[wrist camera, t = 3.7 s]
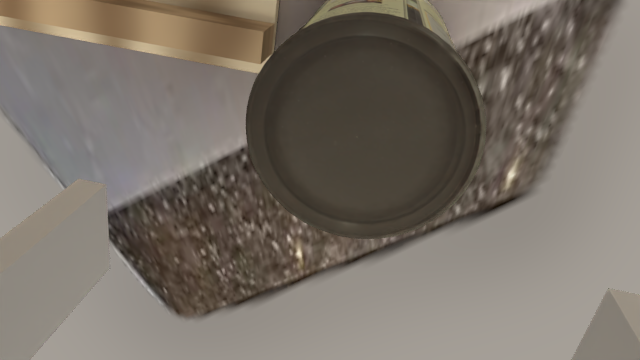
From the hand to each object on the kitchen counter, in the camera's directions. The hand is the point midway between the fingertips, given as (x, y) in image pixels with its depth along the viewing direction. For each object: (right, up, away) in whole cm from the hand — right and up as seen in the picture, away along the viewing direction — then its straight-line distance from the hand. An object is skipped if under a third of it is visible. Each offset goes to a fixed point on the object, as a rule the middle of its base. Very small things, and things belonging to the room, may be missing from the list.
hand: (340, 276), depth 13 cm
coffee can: (+3, +11, +21) cm, 24 cm away
